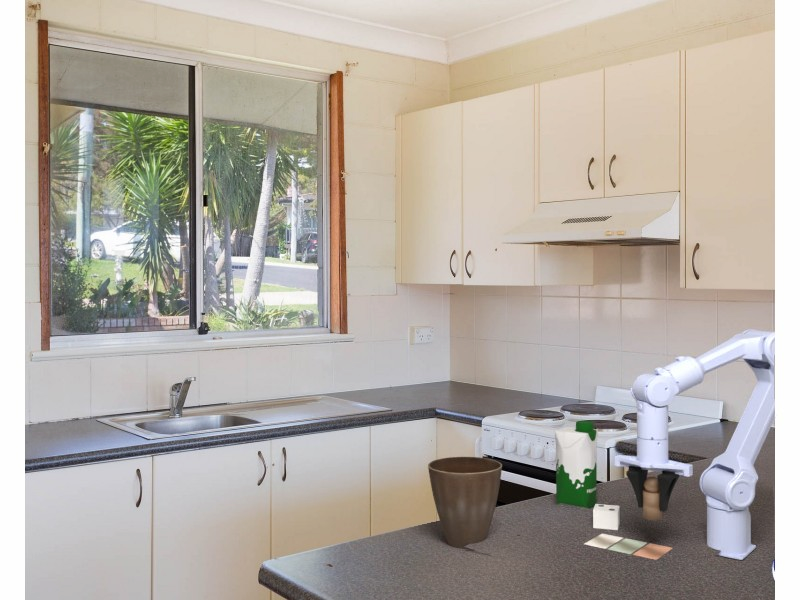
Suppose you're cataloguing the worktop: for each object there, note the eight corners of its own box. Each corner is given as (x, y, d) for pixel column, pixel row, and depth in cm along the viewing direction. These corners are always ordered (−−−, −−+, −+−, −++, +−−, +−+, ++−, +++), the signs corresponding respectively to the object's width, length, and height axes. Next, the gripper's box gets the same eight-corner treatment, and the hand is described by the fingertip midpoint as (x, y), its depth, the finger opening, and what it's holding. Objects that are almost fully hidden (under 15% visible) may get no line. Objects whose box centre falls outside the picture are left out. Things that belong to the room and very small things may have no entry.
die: (595, 526, 170) (595, 503, 170) (619, 529, 169) (619, 505, 169) (593, 533, 166) (593, 509, 166) (617, 535, 164) (617, 511, 164)
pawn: (647, 513, 153) (647, 473, 153) (665, 517, 151) (665, 476, 151) (639, 518, 150) (639, 477, 150) (658, 521, 148) (658, 480, 148)
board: (602, 537, 162) (602, 532, 162) (675, 552, 153) (675, 547, 153) (580, 550, 155) (580, 544, 155) (655, 567, 145) (655, 560, 145)
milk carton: (587, 512, 181) (587, 425, 181) (550, 506, 186) (550, 422, 186) (601, 504, 188) (601, 420, 188) (566, 498, 193) (565, 417, 193)
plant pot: (472, 560, 149) (471, 476, 149) (413, 544, 160) (412, 465, 159) (517, 541, 160) (516, 463, 160) (459, 527, 170) (459, 453, 170)
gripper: (607, 436, 152) (607, 506, 152) (683, 445, 143) (683, 520, 143) (622, 431, 157) (623, 498, 158) (696, 439, 148) (696, 511, 148)
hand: (652, 508), depth 151 cm, fingers closed on pawn, 4 cm apart
